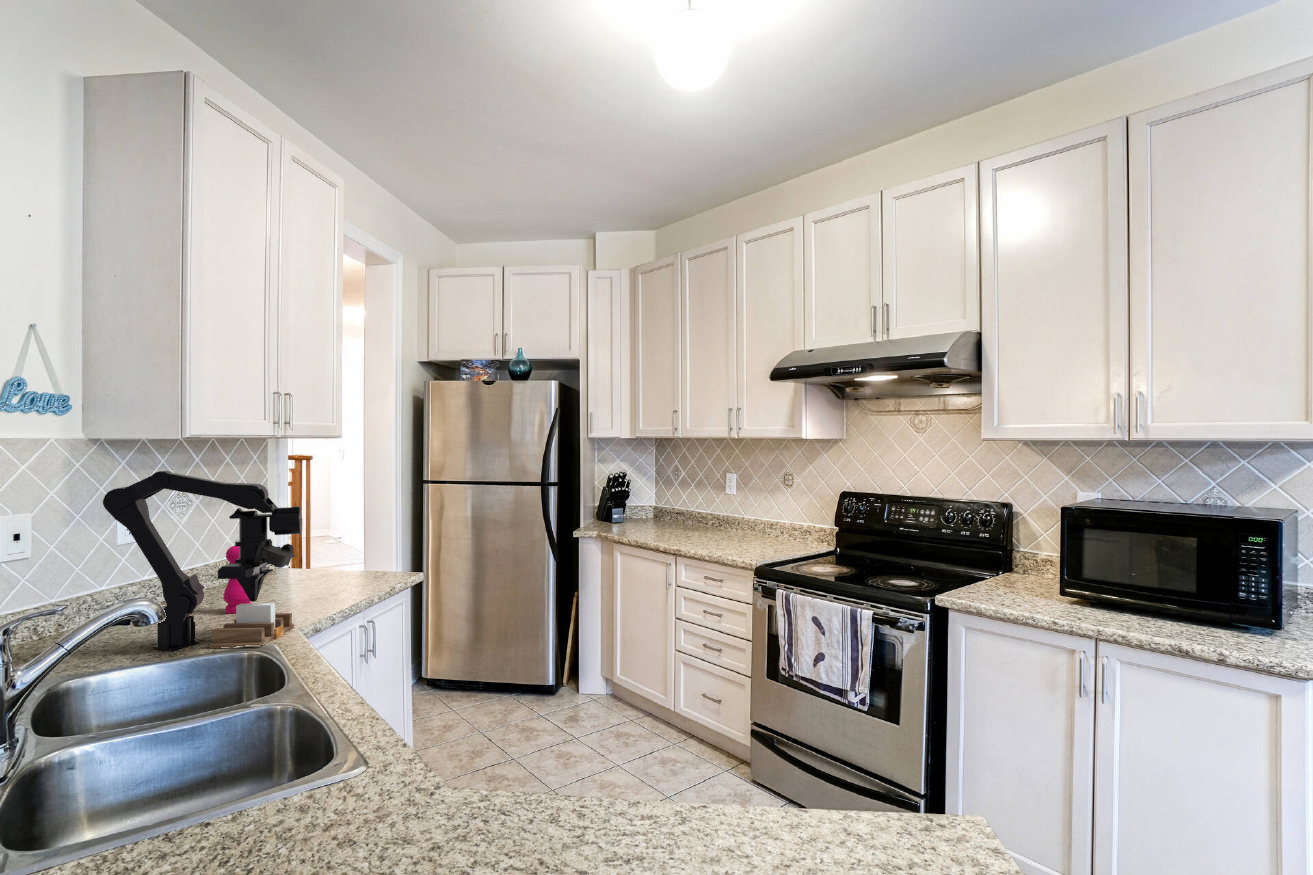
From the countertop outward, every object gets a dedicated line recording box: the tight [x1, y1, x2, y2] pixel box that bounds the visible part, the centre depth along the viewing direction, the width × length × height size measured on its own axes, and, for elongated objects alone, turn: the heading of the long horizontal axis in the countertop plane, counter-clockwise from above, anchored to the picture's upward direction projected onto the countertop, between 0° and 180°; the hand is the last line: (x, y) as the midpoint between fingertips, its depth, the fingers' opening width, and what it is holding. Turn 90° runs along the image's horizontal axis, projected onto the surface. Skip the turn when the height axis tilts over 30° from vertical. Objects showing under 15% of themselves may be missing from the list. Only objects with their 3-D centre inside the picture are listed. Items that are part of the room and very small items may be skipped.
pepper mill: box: [222, 538, 253, 615], centre depth 183 cm, size 7×7×20 cm
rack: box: [209, 612, 295, 650], centre depth 158 cm, size 16×12×4 cm
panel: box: [235, 602, 276, 629], centre depth 158 cm, size 2×8×7 cm, turn 93°
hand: (253, 601), depth 158 cm, fingers closed
